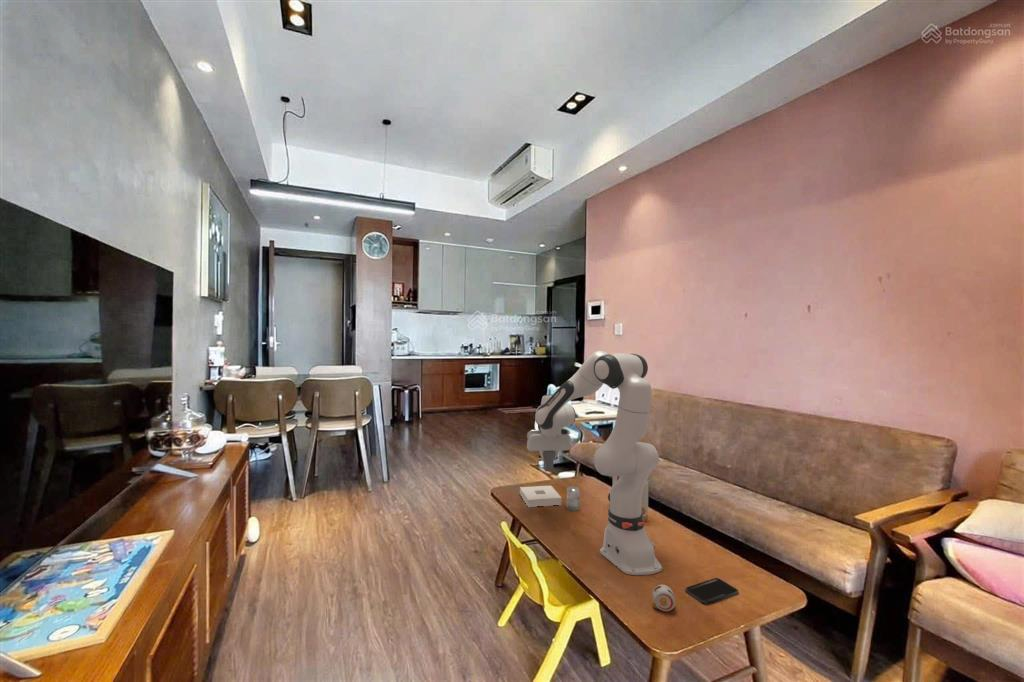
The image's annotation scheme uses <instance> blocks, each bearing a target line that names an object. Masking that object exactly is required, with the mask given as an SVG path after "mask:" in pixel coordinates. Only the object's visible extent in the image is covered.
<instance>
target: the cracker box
mask: <svg viewBox="0 0 1024 682" xmlns="http://www.w3.org/2000/svg"><path fill="white" fill-rule="evenodd" d="M619 478H620V476H612V486H613V485H614V484H615V483H616V482H617V481H618V479H619ZM641 513H642V516H643V520H644V521H643V522H649V478H648V479H647V481H646V483H645V486H644V489H643V493H642V505H641Z"/></svg>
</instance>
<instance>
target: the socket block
mask: <svg viewBox="0 0 1024 682" xmlns="http://www.w3.org/2000/svg"><path fill="white" fill-rule="evenodd" d="M520 494H521V495H520ZM519 495H520V497H521V496H522V497H521V498H523V499H522V500H523V502H524V501H525V502H524V503H526V504H525V506H526V507H527V506H528V507H527V508H538V507H537V506H544V507H554V506H553V505H559V506H562V502H563V501H562V499H563V497H562V496H561V495H560V494H559V493H558V491H556V489H555V488H554V487H553V486H552V485H539V486H538V485H537V486H536V485H535V486H519Z"/></svg>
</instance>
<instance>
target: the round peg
mask: <svg viewBox="0 0 1024 682" xmlns="http://www.w3.org/2000/svg"><path fill="white" fill-rule="evenodd" d="M566 509H567V510H568V509H569V510H568V511H570V510H572V511H571V512H577V511H579V510H580V488H579V487H578V486H573V485H572V486H567V487H566ZM576 510H577V511H576Z"/></svg>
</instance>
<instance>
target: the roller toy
mask: <svg viewBox="0 0 1024 682" xmlns="http://www.w3.org/2000/svg"><path fill="white" fill-rule="evenodd" d="M652 597H653V600H652V602H651V605H652V607H653V608H655V609H658V610H660V611H662V612H671V610H673V609H674V608H675V606H676V598H675V594H674V591H673V589H672V588H671V587H670V586H668V585H665V584H658V585H656V586H655V587H654V588H653V590H652Z"/></svg>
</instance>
